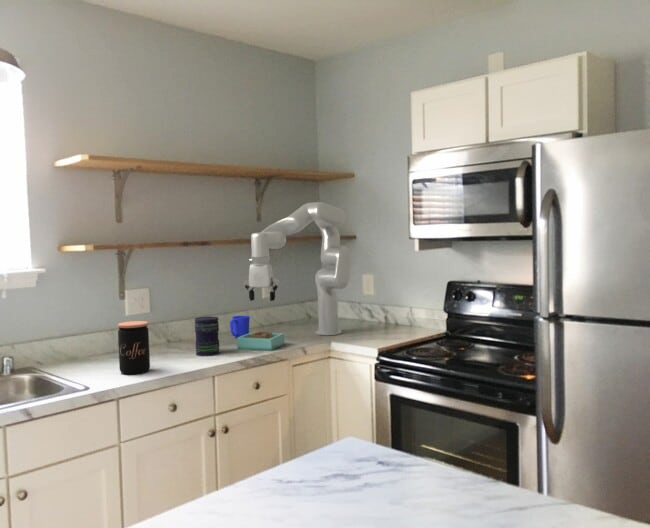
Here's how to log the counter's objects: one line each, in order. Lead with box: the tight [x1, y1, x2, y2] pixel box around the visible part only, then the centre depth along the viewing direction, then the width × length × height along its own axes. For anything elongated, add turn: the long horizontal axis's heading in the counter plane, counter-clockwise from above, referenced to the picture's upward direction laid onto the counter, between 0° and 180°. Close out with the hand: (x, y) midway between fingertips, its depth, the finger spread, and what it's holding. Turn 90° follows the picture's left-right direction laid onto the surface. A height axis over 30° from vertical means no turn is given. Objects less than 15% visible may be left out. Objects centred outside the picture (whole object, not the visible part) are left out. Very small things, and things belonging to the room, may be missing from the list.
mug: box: [229, 315, 251, 339], centre depth 288 cm, size 8×12×10 cm
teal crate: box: [236, 332, 286, 352], centre depth 264 cm, size 14×16×5 cm
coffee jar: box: [117, 320, 151, 376], centre depth 223 cm, size 11×11×18 cm
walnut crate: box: [250, 331, 273, 339], centre depth 264 cm, size 9×6×5 cm
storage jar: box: [194, 316, 221, 357], centre depth 252 cm, size 10×10×15 cm
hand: (262, 300), depth 264 cm, fingers open, 9 cm apart
